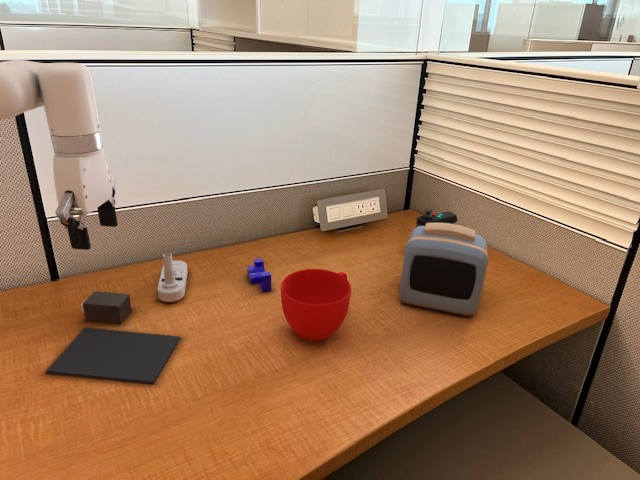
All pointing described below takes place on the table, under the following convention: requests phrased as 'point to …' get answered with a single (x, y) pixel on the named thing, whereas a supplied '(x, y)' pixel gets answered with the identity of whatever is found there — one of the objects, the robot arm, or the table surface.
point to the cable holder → (259, 275)
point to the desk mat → (115, 356)
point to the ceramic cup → (315, 302)
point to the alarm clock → (444, 268)
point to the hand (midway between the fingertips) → (96, 236)
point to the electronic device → (172, 279)
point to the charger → (106, 307)
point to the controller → (436, 218)
